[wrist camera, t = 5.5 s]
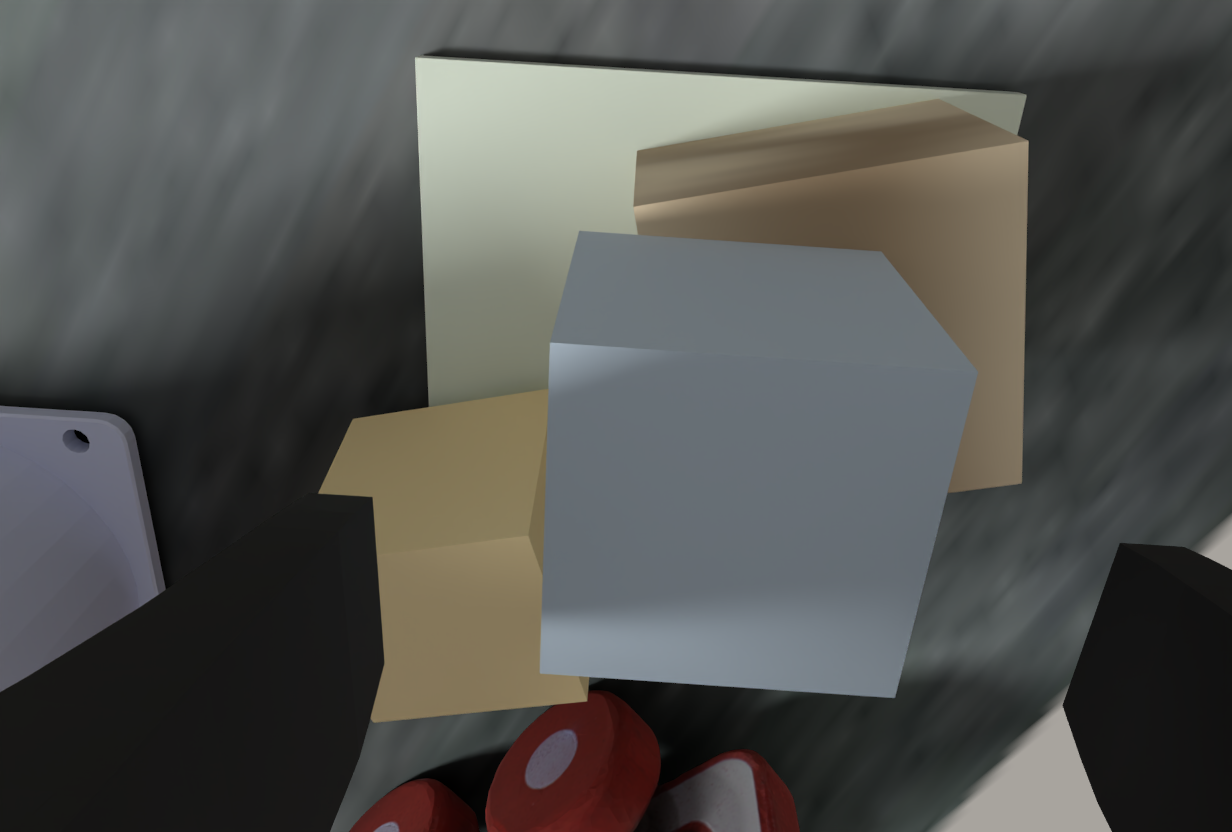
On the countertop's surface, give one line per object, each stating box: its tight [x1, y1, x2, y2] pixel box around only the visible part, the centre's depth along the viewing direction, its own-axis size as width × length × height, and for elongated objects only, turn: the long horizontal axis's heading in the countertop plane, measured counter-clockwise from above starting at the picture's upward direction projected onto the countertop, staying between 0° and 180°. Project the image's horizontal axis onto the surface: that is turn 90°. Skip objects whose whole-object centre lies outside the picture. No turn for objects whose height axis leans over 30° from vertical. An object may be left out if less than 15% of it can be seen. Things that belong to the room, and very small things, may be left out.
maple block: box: [633, 99, 1029, 493], centre depth 15 cm, size 5×5×4 cm
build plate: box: [415, 55, 1027, 407], centre depth 17 cm, size 10×8×1 cm
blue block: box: [540, 231, 978, 698], centre depth 11 cm, size 4×4×4 cm
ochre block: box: [318, 389, 589, 723], centre depth 17 cm, size 4×4×4 cm
